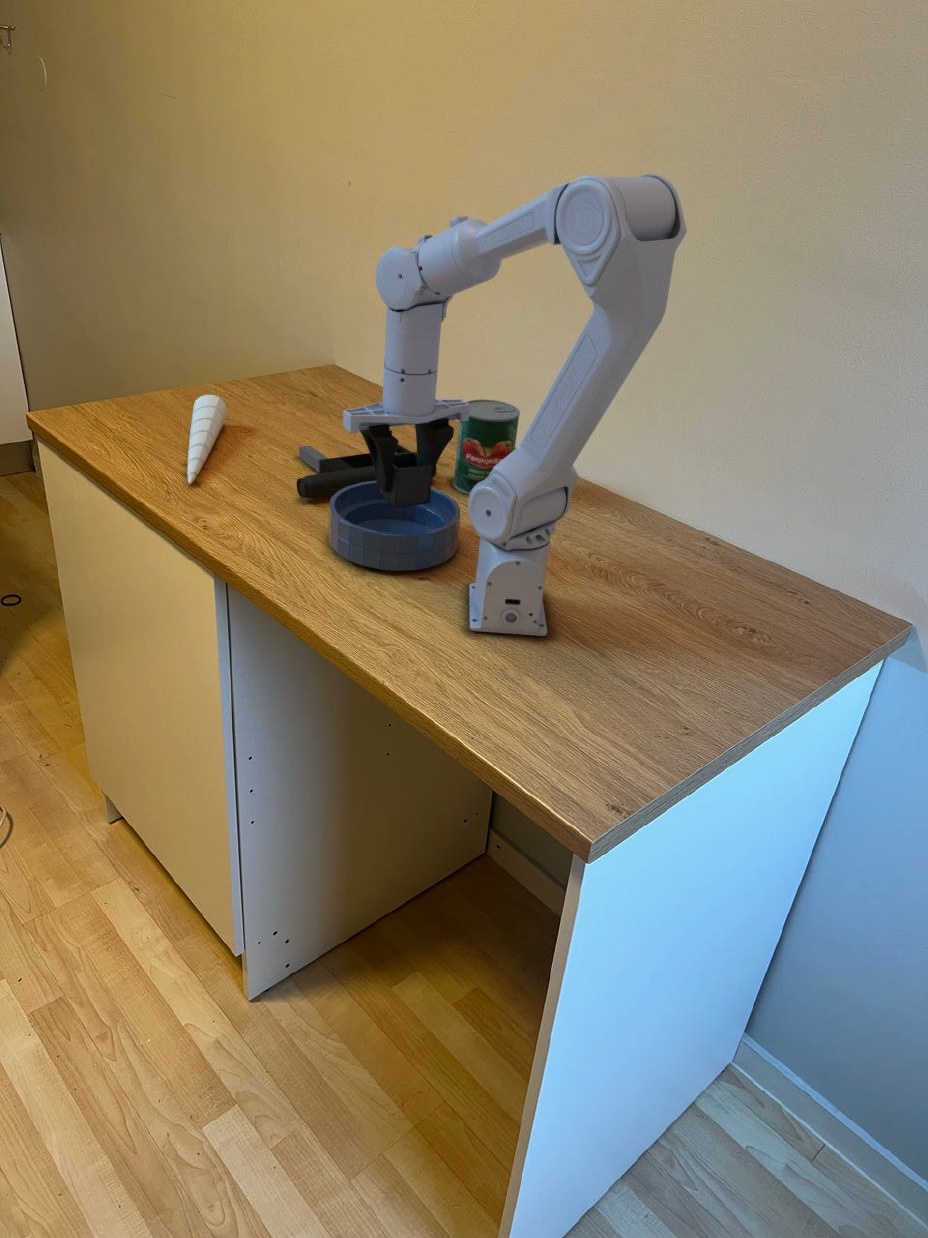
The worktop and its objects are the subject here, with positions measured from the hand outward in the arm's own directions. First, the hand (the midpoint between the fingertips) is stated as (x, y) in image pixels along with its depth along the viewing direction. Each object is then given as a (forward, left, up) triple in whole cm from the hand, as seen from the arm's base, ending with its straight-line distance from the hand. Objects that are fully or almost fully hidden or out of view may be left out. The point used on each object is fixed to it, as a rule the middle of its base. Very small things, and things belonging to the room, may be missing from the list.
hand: (403, 485), depth 106 cm
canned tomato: (+21, -10, -8) cm, 25 cm away
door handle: (+21, +8, -8) cm, 24 cm away
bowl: (+1, +1, -8) cm, 8 cm away
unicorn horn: (+25, +29, -8) cm, 39 cm away
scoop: (+1, +1, -1) cm, 2 cm away
